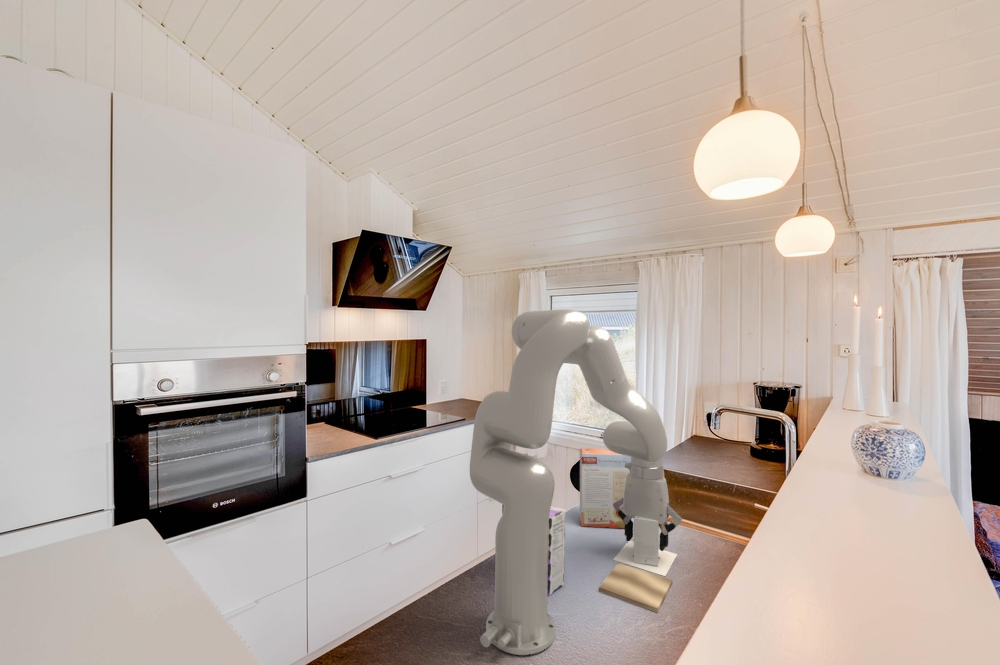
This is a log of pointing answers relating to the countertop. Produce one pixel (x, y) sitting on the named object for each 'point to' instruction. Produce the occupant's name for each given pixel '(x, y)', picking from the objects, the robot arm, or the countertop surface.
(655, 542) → the small box
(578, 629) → the countertop surface
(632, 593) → the coaster
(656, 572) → the card
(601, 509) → the cracker box
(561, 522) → the candy box
